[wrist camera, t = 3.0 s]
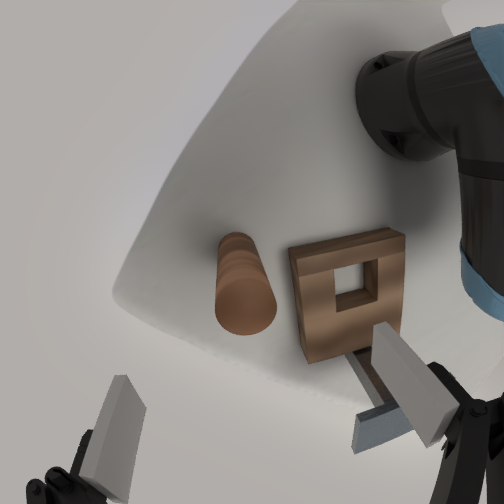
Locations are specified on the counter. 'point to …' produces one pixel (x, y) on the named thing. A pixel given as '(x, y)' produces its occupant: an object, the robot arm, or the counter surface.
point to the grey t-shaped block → (386, 408)
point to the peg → (242, 287)
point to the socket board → (352, 303)
